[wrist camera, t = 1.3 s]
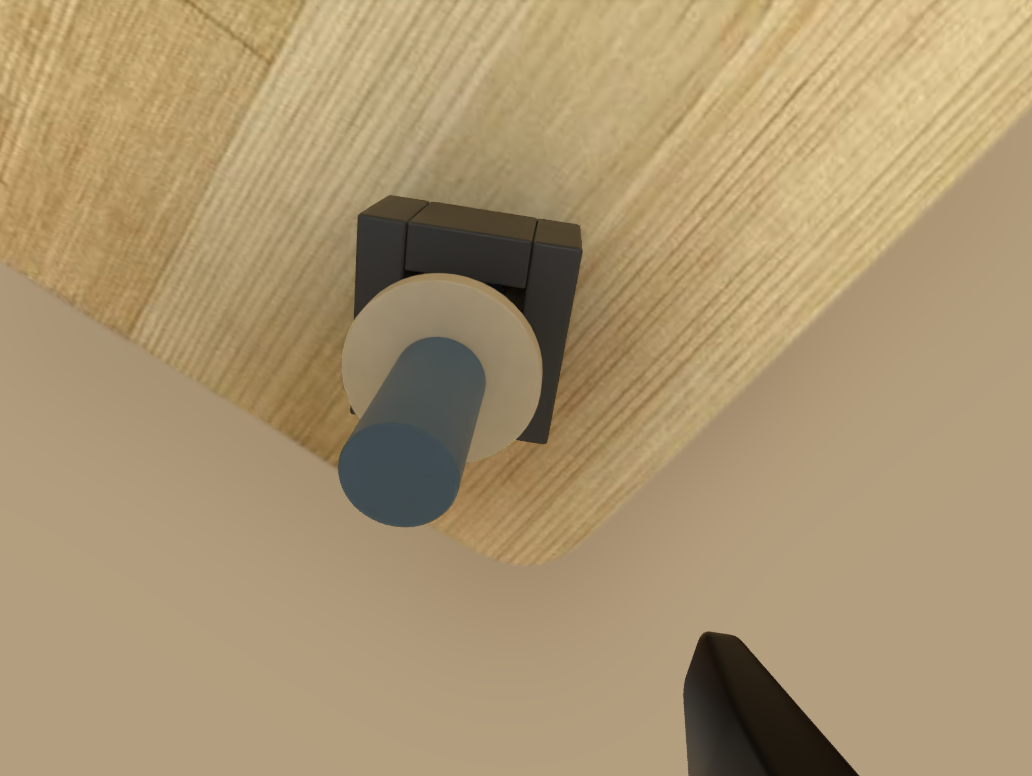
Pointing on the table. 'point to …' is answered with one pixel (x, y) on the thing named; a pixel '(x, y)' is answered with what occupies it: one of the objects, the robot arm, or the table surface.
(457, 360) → the peg
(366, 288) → the stand
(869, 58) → the table surface
